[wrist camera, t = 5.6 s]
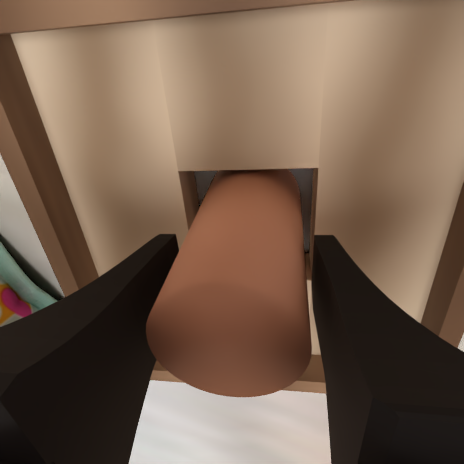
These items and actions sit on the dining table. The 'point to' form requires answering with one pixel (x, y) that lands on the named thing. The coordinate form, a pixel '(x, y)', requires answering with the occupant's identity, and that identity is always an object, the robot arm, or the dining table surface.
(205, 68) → the walnut box
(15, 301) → the lunch bag
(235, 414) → the dining table surface
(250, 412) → the dining table surface
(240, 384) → the peg
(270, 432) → the dining table surface
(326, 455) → the dining table surface
